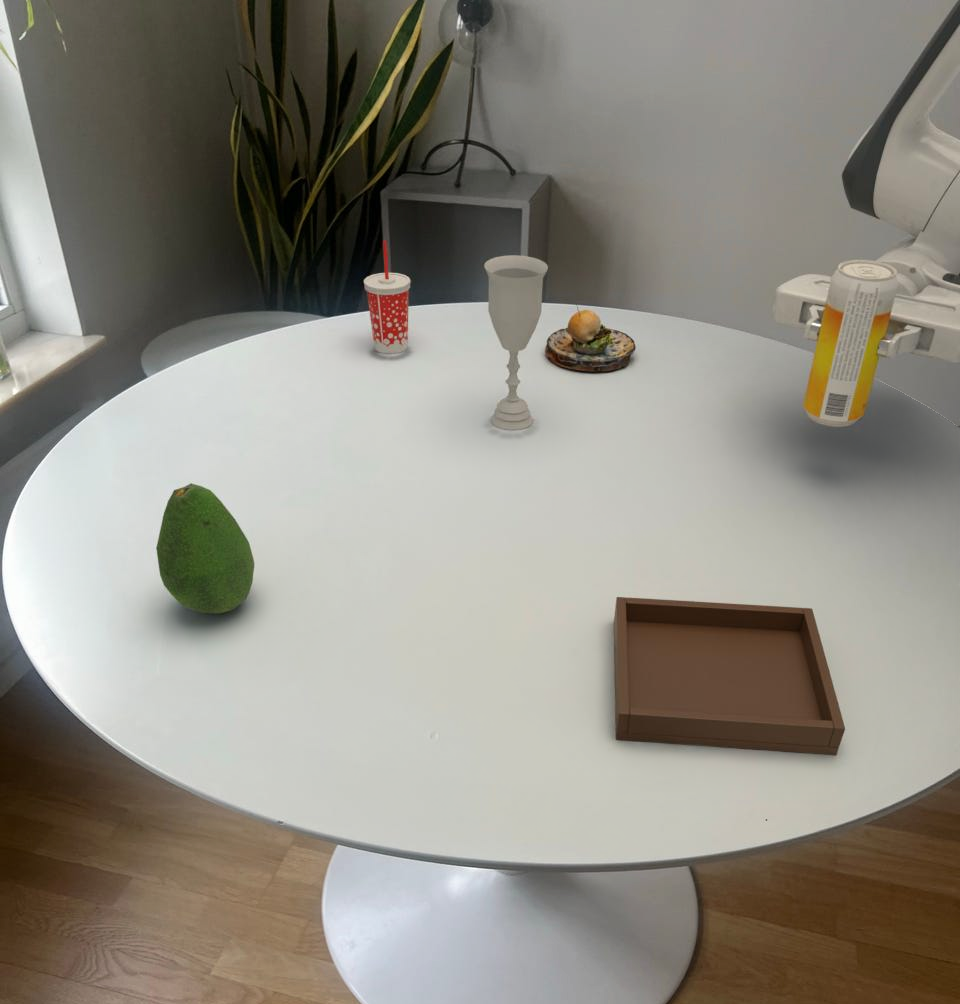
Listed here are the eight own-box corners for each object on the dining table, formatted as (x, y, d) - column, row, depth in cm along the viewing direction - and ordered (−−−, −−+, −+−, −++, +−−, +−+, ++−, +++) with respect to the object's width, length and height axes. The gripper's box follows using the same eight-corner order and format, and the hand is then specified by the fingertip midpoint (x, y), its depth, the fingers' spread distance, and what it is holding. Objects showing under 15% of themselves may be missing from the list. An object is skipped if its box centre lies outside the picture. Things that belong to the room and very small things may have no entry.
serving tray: (805, 633, 84) (812, 608, 82) (836, 755, 73) (845, 728, 71) (613, 621, 85) (616, 596, 83) (615, 739, 74) (618, 713, 72)
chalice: (475, 410, 117) (475, 258, 105) (528, 403, 118) (533, 252, 107) (494, 438, 111) (497, 281, 100) (549, 429, 113) (558, 274, 102)
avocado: (217, 570, 91) (194, 457, 83) (278, 599, 88) (259, 484, 80) (151, 613, 86) (119, 496, 78) (212, 645, 83) (185, 527, 75)
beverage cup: (421, 342, 133) (417, 237, 124) (400, 359, 128) (394, 251, 120) (382, 335, 135) (375, 230, 126) (360, 351, 130) (351, 244, 121)
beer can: (858, 404, 102) (896, 260, 93) (866, 431, 98) (906, 281, 88) (799, 400, 103) (830, 256, 94) (804, 426, 98) (837, 278, 89)
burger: (646, 369, 126) (652, 312, 121) (559, 377, 124) (562, 320, 119) (616, 334, 135) (621, 280, 130) (535, 341, 133) (537, 286, 128)
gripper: (805, 251, 106) (753, 287, 97) (1002, 288, 96) (964, 332, 88) (794, 308, 110) (743, 347, 101) (982, 349, 100) (944, 396, 92)
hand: (848, 341), depth 94 cm, fingers closed on beer can, 6 cm apart
